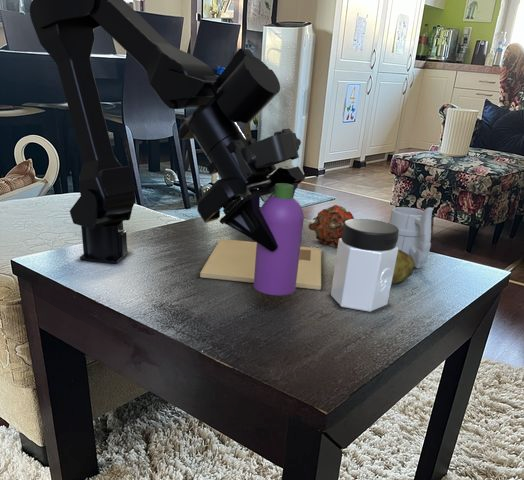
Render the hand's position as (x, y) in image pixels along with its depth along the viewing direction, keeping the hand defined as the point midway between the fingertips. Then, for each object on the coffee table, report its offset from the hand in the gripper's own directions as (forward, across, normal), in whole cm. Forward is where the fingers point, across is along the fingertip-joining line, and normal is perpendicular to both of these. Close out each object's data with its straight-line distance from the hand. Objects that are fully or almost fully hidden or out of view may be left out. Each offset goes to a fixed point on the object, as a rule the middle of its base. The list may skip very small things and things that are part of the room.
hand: (287, 244), depth 72 cm
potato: (+12, +24, +4) cm, 27 cm away
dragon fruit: (0, +38, +15) cm, 41 cm away
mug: (+12, +36, +3) cm, 38 cm away
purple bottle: (+4, 0, +6) cm, 7 cm away
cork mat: (-2, +17, +17) cm, 24 cm away
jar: (+12, +13, +3) cm, 18 cm away
